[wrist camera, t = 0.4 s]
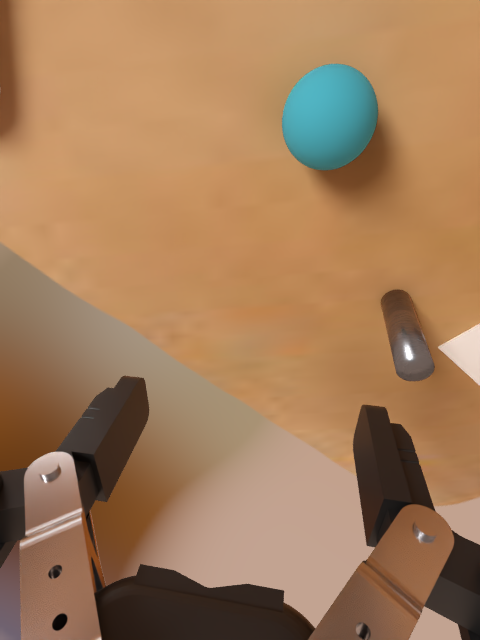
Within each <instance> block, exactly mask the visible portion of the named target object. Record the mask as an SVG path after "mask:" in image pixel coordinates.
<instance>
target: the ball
mask: <svg viewBox="0 0 480 640" xmlns="http://www.w3.org/2000/svg"><path fill="white" fill-rule="evenodd" d="M377 118H378V104H377V99H376V95H375V92H374V89H373V87H372V85H371V84H370V82H369V81H368V79H367V78H366V77H365V76H364V75H363V74H362V73H361V72H359V71H358V70H356V69H355V68H352V67H350V66H347V65H343V64H328V65H324V66H321V67H318V68H316V69H314V70H312V71H310V72H309V73H307V74H306V75H305V76H304V77H303V78H301V79H300V80H299V81H298V83H297V84H296V85H295V86H294V88H293V89H292V91H291V92H290V94H289V96H288V98H287V101H286V104H285V107H284V111H283V118H282V129H283V135H284V139H285V142H286V145H287V147H288V149H289V150H290V152H291V153H292V155H293V156H294V157H295V158H296V159H297V160H298V161H299V162H301V163H302V164H304V165H305V166H307V167H310V168H313V169H316V170H333V169H337V168H340V167H342V166H345V165H346V164H348V163H350V162H351V161H353V160H354V159H355V158H357V157H358V156H359V155H360V154H361V153H362V152H363V150H364V149H365V148H366V146H367V145H368V143H369V142H370V140H371V138H372V136H373V133H374V131H375V127H376V124H377Z"/></svg>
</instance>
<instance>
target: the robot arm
mask: <svg viewBox="0 0 480 640" xmlns="http://www.w3.org/2000/svg"><path fill="white" fill-rule="evenodd" d="M148 416H149V404H148V397H147V391H146V384H145V380H144V378H139V377H130V376H123V377H121V379H120V380H119V382H118V383H117V385H116V386H115V388H107V389H105V390H104V391H103V392H101V393H100V394H99V395H97V396H96V397H95V398H94V400H93V401H92V402H91V404H90V405H89V407H88V409H86V411H85V412H84V413H83V415H82V418H80V419H79V420H78V422H77V423H76V424H75V426H74V427H73V428H72V430H71V431H70V433H69V434H68V436H67V437H66V438H65V440H64V441H63V442H62V444H61V445H60V446H59V448H58V449H57V450H56V452H52V453H49V454H46V455H44V456H42V457H40V458H39V459H37V460H36V461H34V462H33V463H32V464H31V465H30V466H29V468H23V469H17V470H9V471H3V472H0V568H1V566H2V565H3V563H4V561H5V560H6V558H7V556H8V555H9V553H10V552H11V550H12V548H13V546H14V545H15V543H16V542H17V540H21V541H20V594H21V595H20V598H21V640H408V639H409V638H410V635H411V633H412V631H413V629H414V627H415V625H416V623H417V621H418V619H419V617H420V615H421V613H422V609H423V607H424V606H425V607H427V608H429V609H431V610H433V611H435V612H436V613H438V614H440V615H442V616H444V617H446V618H448V619H450V620H451V621H453V622H455V623H457V624H458V626H459V630H460V634H461V638H462V640H480V545H479V544H476V543H474V542H472V541H470V540H468V539H465V538H463V537H461V536H459V535H458V534H457V533H455V532H454V531H452V530H451V528H450V526H449V525H448V523H447V522H446V521H445V520H444V519H443V518H442V517H441V516H440V515H439V514H438V513H437V512H436V511H435V509H434V506H433V503H432V500H431V497H430V494H429V491H428V488H427V485H426V482H425V479H424V476H423V472H422V469H421V466H420V465H419V460H418V457H417V454H416V453H415V448H414V445H413V442H412V439H411V436H410V435H409V434H408V433H407V431H406V430H405V429H404V428H403V427H402V425H401V424H394V423H390V420H389V417H388V413H387V410H386V408H385V407H379V406H371V405H362V407H361V410H360V414H359V418H358V422H357V426H356V430H355V434H354V440H353V452H354V459H355V466H356V473H357V480H358V487H359V494H360V501H361V508H362V515H363V522H364V529H365V536H366V543H367V546H371V547H375V549H374V550H373V552H372V553H371V555H370V556H369V557H368V559H367V560H366V561H363V562H362V563H361V564H360V565H359V566H358V568H357V569H356V571H355V572H354V574H353V575H352V577H351V578H350V580H349V581H348V582H347V584H346V585H345V587H344V588H343V590H342V591H341V592H340V594H339V595H338V597H337V598H336V600H335V601H334V603H333V604H332V605H331V607H330V608H329V610H328V611H327V613H326V614H325V616H324V617H323V619H322V620H321V622H320V623H319V624H318V626H317V628H316V629H315V628H314V627H313V625H312V624H311V623H310V622H309V621H308V620H307V619H306V618H305V617H304V616H303V615H302V614H301V613H299V612H298V611H297V610H295V609H294V608H292V607H291V606H289V605H287V604H285V603H284V602H283V601H284V591H283V590H278V589H272V588H267V587H262V586H256V585H251V584H242V585H233V586H225V587H216V588H207V587H204V586H202V585H201V584H199V583H197V582H195V581H193V580H191V579H189V578H188V577H186V576H184V575H182V574H180V573H178V572H176V571H174V570H169V569H164V568H158V567H153V566H147V565H142V564H140V567H139V569H138V572H137V575H136V576H131V577H127V578H124V579H121V580H119V581H116V582H114V583H112V584H110V585H108V586H106V583H105V580H104V576H103V572H102V568H101V564H100V558H99V553H98V548H97V543H96V537H95V532H94V527H93V522H92V517H91V513H90V509H91V507H92V505H93V504H94V502H95V500H98V501H105V502H107V501H108V499H109V497H110V495H111V493H112V491H113V489H114V487H115V485H116V483H117V481H118V479H119V477H120V475H121V473H122V471H123V469H124V467H125V465H126V463H127V461H128V459H129V457H130V455H131V453H132V451H133V449H134V447H135V445H136V443H137V441H138V439H139V437H140V435H141V433H142V431H143V429H144V427H145V425H146V422H147V420H148Z"/></svg>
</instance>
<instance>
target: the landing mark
mask: <svg viewBox="0 0 480 640" xmlns="http://www.w3.org/2000/svg"><path fill="white" fill-rule="evenodd" d="M438 348H439V349H440V350H441V351H442V352H443V353H444V354H446V355H447V356H448V357H449V358H450V359H451V360H452V361H453V362H454V363H455V364H457V365H458V366H459V367H460V368H461V369H462V370H463V371H464V372H465V373H466V374H467V375H469V376H470V377H471V378H472V379H473V380H474V381H475V382H476V383H477V384H478V385H480V324H478V325H476V326H474V327H473V328H471V329H469V330H467V331H465V332H464V333H462V334H460V335H458V336H456V337H455V338H453V339H451V340H449V341H447V342H446V343H444V344H442V345H440V346H438Z"/></svg>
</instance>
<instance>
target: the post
mask: <svg viewBox="0 0 480 640" xmlns="http://www.w3.org/2000/svg"><path fill="white" fill-rule="evenodd" d="M381 307H382V311H383V316H384V320H385V324H386V329H387V333H388V338H389V342H390V347H391V351H392V355H393V360H394V364H395V369H396V373H397V375H398V376H399V377H400V378H402V379H404V380H407V381H420V380H423V379H426V378H427V377H429V376H430V375H431V374H432V373H433V371H434V363H433V360H432V357H431V354H430V351H429V349H428V346H427V343H426V340H425V337H424V334H423V332H422V329H421V326H420V323H419V320H418V317H417V314H416V312H415V309H414V306H413V303H412V300H411V297H410V295H409V294H408V293H407V292H405V291H403V290H392V291H390V292H388V293H386V294H385V295H384V296H383V297H382V299H381Z"/></svg>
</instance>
